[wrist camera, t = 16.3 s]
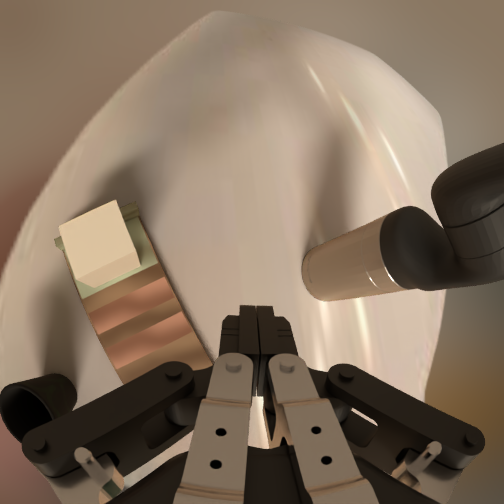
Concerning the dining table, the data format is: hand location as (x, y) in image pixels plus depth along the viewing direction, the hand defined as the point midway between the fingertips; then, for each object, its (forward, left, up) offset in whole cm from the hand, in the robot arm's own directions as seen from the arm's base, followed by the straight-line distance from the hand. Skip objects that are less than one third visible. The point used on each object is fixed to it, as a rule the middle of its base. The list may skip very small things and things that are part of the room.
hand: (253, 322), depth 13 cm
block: (+12, -7, -24) cm, 28 cm away
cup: (+19, +12, -25) cm, 34 cm away
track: (+7, +2, -25) cm, 26 cm away
